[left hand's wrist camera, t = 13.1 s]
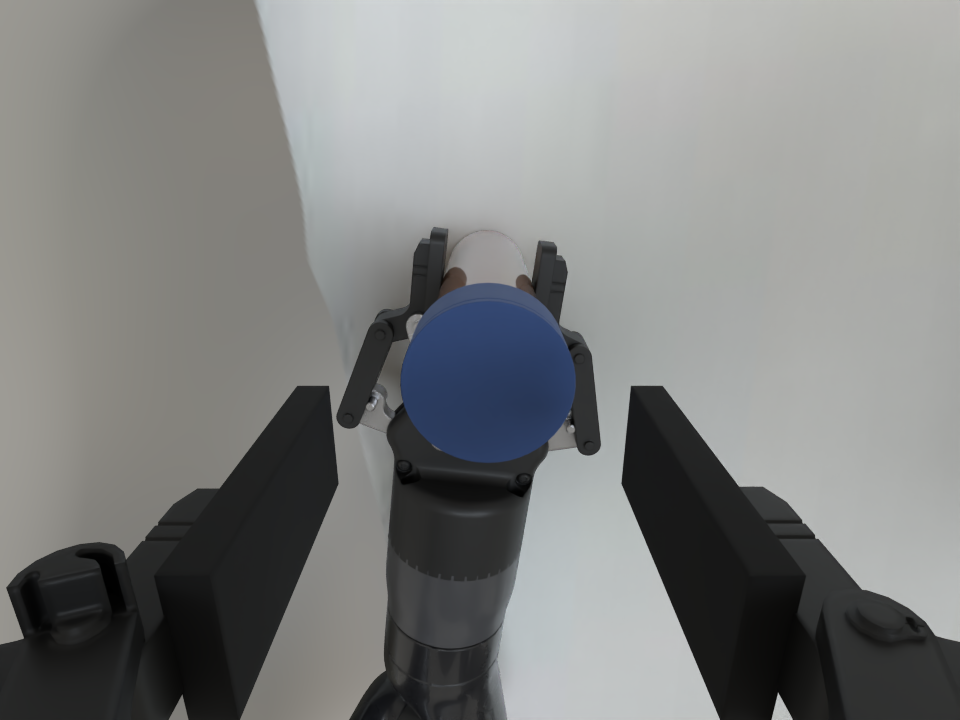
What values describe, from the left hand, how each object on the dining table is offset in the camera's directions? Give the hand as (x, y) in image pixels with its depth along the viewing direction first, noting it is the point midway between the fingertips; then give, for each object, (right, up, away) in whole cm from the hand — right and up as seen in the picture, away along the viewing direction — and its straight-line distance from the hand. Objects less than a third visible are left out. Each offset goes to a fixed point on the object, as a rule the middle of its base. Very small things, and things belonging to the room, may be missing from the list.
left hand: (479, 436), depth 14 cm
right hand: (+1, +8, +13) cm, 15 cm away
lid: (0, +1, +3) cm, 4 cm away
